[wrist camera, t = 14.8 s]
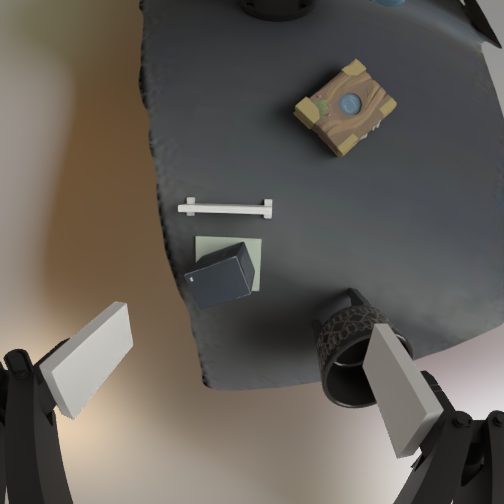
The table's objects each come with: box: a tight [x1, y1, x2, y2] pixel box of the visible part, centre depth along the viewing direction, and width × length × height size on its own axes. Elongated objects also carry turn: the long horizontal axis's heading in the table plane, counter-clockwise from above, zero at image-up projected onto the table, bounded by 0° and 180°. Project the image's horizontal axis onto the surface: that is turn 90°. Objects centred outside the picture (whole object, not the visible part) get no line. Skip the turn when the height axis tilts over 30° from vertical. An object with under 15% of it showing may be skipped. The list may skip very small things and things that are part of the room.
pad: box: [196, 236, 261, 291], centre depth 46 cm, size 9×11×1 cm
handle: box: [178, 197, 272, 218], centre depth 42 cm, size 3×14×5 cm, turn 88°
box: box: [184, 242, 255, 310], centre depth 41 cm, size 8×6×11 cm
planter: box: [312, 288, 414, 408], centre depth 39 cm, size 13×13×18 cm
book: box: [293, 59, 396, 157], centre depth 37 cm, size 15×11×5 cm
